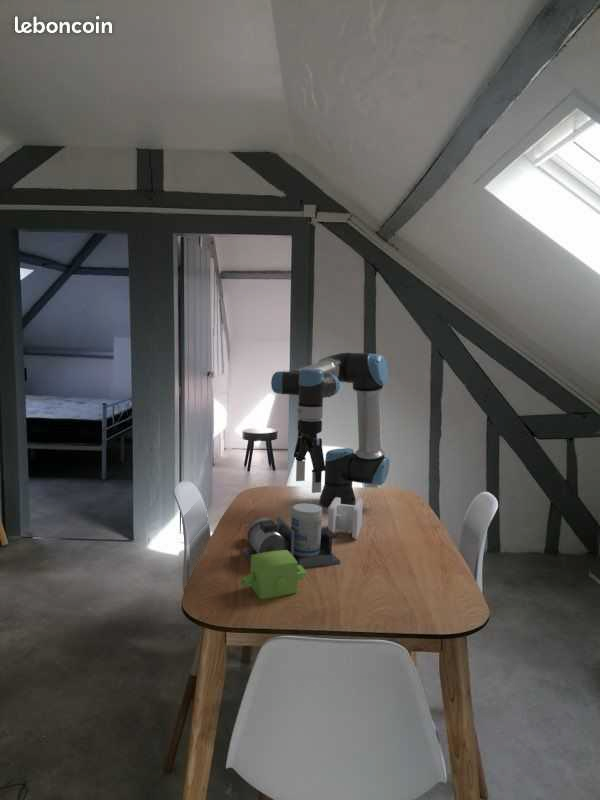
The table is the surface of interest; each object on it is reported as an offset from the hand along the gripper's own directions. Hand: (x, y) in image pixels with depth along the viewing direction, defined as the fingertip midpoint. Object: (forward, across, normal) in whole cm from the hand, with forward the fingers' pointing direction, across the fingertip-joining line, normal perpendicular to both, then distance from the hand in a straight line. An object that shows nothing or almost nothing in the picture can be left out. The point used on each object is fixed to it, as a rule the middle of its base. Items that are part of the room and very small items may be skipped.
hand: (308, 486), depth 173 cm
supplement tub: (+22, 0, 0) cm, 22 cm away
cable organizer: (+23, -15, +20) cm, 34 cm away
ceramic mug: (+23, -14, -10) cm, 28 cm away
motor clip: (+22, 0, -5) cm, 23 cm away
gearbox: (+22, +21, -18) cm, 36 cm away
